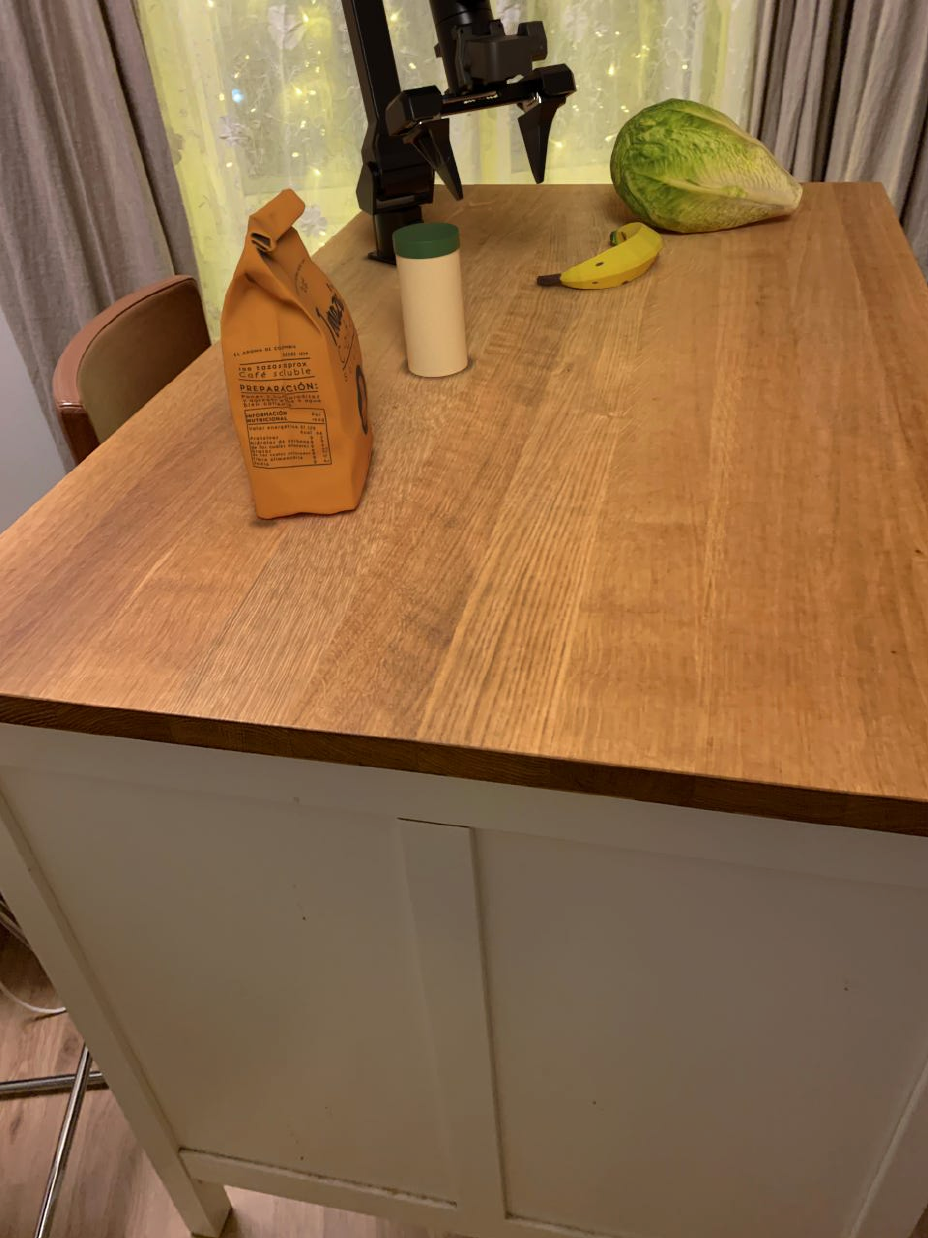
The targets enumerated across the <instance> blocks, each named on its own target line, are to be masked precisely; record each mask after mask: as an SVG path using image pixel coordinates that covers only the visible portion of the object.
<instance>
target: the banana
mask: <svg viewBox="0 0 928 1238" xmlns="http://www.w3.org/2000/svg"><path fill="white" fill-rule="evenodd" d="M609 240H610V243H611V244H615V246H612V247H610V248H609V249H607V250H605V251H603V252H600V254H597V255H596V256H593V257H591V258H590V259H587V260H586V261H583V262H581V263H579V264H576V265H574V266H572V267H570V268H569V269H567V270H565V271H563V272H562V271H561V272H558V273H553V274H546V275H538V276H536V279H535V280H536V283H537V284H538V285H539V286H545V287H546V286H554V285H559V284H561V285H564V286H566V287H570V288H573V289H581V290H602V289H610V288H616V287H620V286H622V285H626V284H628V283H630V282H633V281H634V280H636V279H637V278H639V277H641V276H643V275H644V274H645V273H646V272H647V271H648V269H649V268H650V267H651V266H652V265H653V263H654V262H655V260H656V259H657V257H658V256H659V254H660V252H661V251H662V249H663V248H664V244H663V239H662V237H661V234H660V233H658V232H657V231H655V230H654V229H652V228H651V227H649V226H648V225H646V224H644V223H642V222H639V221H637V222H629V223H627V224H625V225H622V226H620V227H619V228H618V229H616V230H613V231H611V232H610V234H609Z"/></svg>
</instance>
